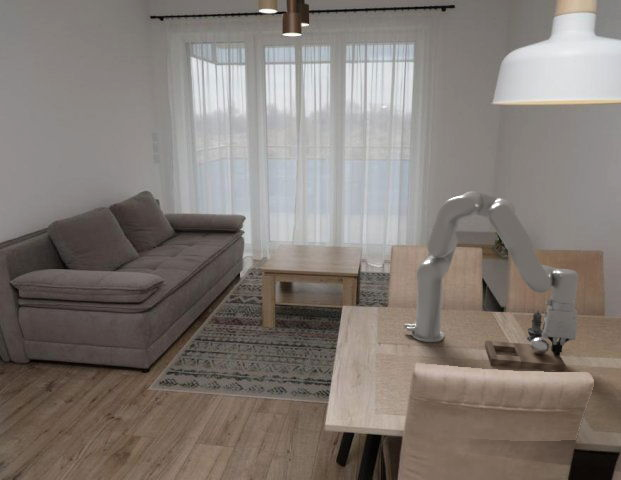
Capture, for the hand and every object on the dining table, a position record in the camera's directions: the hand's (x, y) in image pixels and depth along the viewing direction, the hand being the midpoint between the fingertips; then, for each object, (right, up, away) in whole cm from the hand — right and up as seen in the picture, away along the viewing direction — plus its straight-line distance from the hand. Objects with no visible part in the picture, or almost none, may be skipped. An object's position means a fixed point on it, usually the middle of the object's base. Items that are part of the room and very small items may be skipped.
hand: (556, 353), depth 173 cm
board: (-11, -2, +3) cm, 11 cm away
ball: (-6, +3, +1) cm, 6 cm away
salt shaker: (+1, +1, +18) cm, 18 cm away
